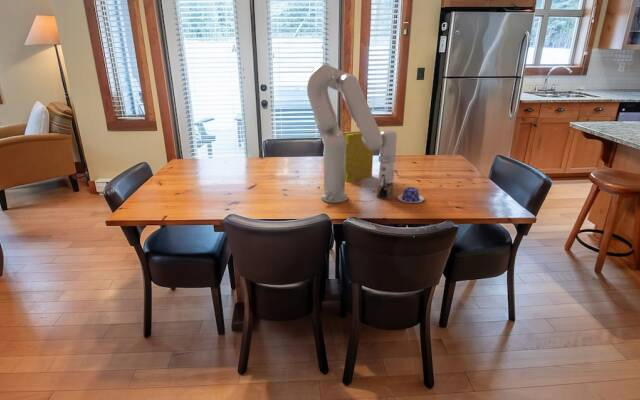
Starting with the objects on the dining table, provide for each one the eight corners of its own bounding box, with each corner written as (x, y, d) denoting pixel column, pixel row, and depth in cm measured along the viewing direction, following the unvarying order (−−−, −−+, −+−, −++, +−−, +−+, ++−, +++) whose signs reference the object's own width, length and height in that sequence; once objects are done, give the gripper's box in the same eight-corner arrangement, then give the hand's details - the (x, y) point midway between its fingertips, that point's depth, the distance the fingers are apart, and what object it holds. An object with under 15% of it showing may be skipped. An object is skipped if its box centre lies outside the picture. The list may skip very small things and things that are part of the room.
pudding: (393, 201, 171) (394, 190, 169) (402, 193, 181) (403, 183, 179) (419, 206, 165) (420, 195, 163) (426, 197, 175) (428, 187, 173)
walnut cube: (389, 199, 173) (390, 187, 171) (376, 197, 175) (377, 185, 173) (392, 194, 178) (393, 183, 176) (380, 193, 180) (381, 181, 178)
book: (346, 181, 197) (346, 134, 187) (340, 178, 203) (341, 132, 193) (374, 177, 203) (376, 132, 193) (368, 174, 208) (369, 129, 199)
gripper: (390, 163, 161) (388, 202, 168) (399, 154, 176) (397, 189, 182) (373, 162, 164) (372, 199, 171) (384, 152, 178) (382, 187, 185)
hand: (385, 194), depth 176 cm, fingers closed on walnut cube, 6 cm apart
